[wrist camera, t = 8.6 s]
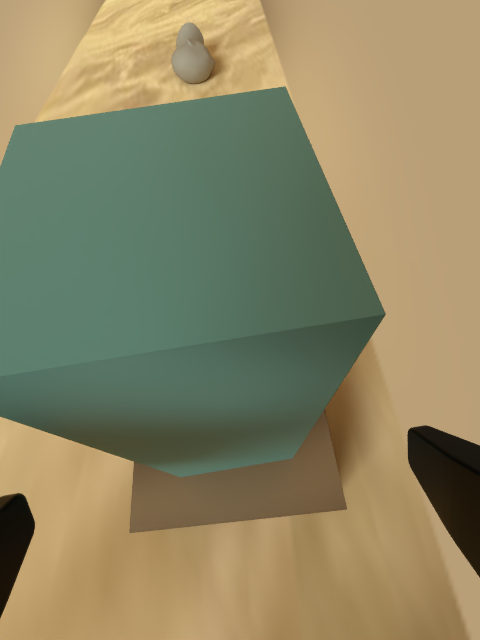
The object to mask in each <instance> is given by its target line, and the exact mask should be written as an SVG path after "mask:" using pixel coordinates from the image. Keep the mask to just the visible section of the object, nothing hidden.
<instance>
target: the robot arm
mask: <svg viewBox="0 0 480 640" xmlns="http://www.w3.org/2000/svg"><path fill="white" fill-rule="evenodd" d="M408 461H409V464H410V467H411V469H412V471H413V473H414V474H415V476H416V478H417V480H418V481H419V483H420V485H421V486H422V488H423V490H424V492H425V493H426V495H427V497H428V498H429V500H430V502H431V504H432V505H433V507H434V509H435V511H436V512H437V514H438V516H439V517H440V519H441V521H442V523H443V524H444V526H445V528H446V529H447V531H448V532H449V534H450V535H451V537H452V538H453V540H454V541H455V543H456V544H457V546H458V547H459V549H460V550H461V552H462V553H463V554H464V556H465V557H466V559H467V560H468V561H469V563H470V564H471V566H472V567H473V569H474V570H475V571H476V573H477V574H478V576H479V577H480V446H479V445H477V444H474V443H471V442H469V441H467V440H464V439H461V438H459V437H456V436H453V435H451V434H448V433H446V432H443V431H440V430H438V429H435V428H433V427H430V426H419V427H413V428H410V429H409V430H408ZM34 529H35V521H34V518H33V516H32V513H31V510H30V508H29V505H28V502H27V500H26V497H25V496H24V495H23V494H21V493H17V494H11V495H5V496H2V497H0V618H1V616H2V613H3V611H4V608H5V606H6V604H7V601H8V599H9V596H10V594H11V591H12V588H13V586H14V583H15V581H16V578H17V575H18V573H19V570H20V568H21V565H22V562H23V560H24V557H25V555H26V552H27V549H28V547H29V544H30V542H31V539H32V537H33V534H34Z"/></svg>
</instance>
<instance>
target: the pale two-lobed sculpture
mask: <svg viewBox="0 0 480 640" xmlns="http://www.w3.org/2000/svg"><path fill="white" fill-rule="evenodd" d="M176 45H177V49H176V50H175V51H174V53H173V55H172V60H171V61H172V67H173V70H174V72H175V73H176V75H177V76H178V77H179V78H180V79H181V80H183V81H184V82H187V83H192V84H194V83H200V82H203V81H205V80H206V79H208V77H209V76H210V73H211V70H212V69H213V68H214V66H215V61H214V60H213V58H212V57H211V55H210V53H209V51H208V49H207V48H206V47H205V46H204V39H203V36H202V34H201V32H200V30H199V29H198V27H197V26H196V25H194V24H193V23H186V24H184V25H183V26H182V27H181V29H180V31H179V33H178V36H177V41H176Z"/></svg>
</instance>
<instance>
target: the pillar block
mask: <svg viewBox="0 0 480 640" xmlns="http://www.w3.org/2000/svg"><path fill="white" fill-rule="evenodd" d="M384 316H385V312H384V309H383V307H382V305H381V302H380V300H379V298H378V296H377V293H376V291H375V289H374V287H373V285H372V282H371V280H370V278H369V275H368V273H367V271H366V269H365V266H364V264H363V262H362V259H361V257H360V255H359V253H358V250H357V248H356V246H355V243H354V241H353V239H352V237H351V234H350V232H349V230H348V228H347V225H346V223H345V221H344V219H343V216H342V214H341V212H340V209H339V207H338V205H337V203H336V201H335V198H334V196H333V194H332V191H331V189H330V187H329V184H328V182H327V180H326V178H325V175H324V173H323V171H322V169H321V166H320V164H319V162H318V160H317V157H316V155H315V153H314V150H313V148H312V146H311V144H310V141H309V139H308V137H307V135H306V133H305V130H304V128H303V126H302V123H301V121H300V119H299V116H298V114H297V112H296V110H295V107H294V105H293V103H292V101H291V98H290V96H289V94H288V91H287V89H286V87H279V88H272V89H265V90H258V91H251V92H244V93H237V94H230V95H223V96H216V97H210V98H203V99H196V100H189V101H182V102H175V103H168V104H161V105H154V106H147V107H140V108H134V109H127V110H120V111H113V112H106V113H99V114H92V115H85V116H78V117H71V118H64V119H58V120H51V121H44V122H37V123H30V124H23V125H16V126H15V128H14V131H13V133H12V136H11V139H10V142H9V145H8V147H7V150H6V153H5V155H4V158H3V161H2V164H1V166H0V417H3V418H6V419H9V420H12V421H15V422H18V423H21V424H24V425H27V426H30V427H33V428H36V429H39V430H42V431H45V432H48V433H51V434H54V435H57V436H60V437H63V438H66V439H69V440H72V441H75V442H78V443H81V444H84V445H86V446H89V447H92V448H95V449H98V450H101V451H104V452H107V453H110V454H113V455H116V456H119V457H122V458H125V459H128V460H131V461H134V462H137V463H140V464H143V465H146V466H149V467H152V468H155V469H158V470H161V471H164V472H167V473H170V474H173V475H175V476H178V477H186V476H192V475H198V474H204V473H210V472H215V471H221V470H227V469H233V468H239V467H245V466H251V465H257V464H263V463H269V462H274V461H280V460H286V459H292V458H293V457H294V456H295V454H296V452H297V451H298V449H299V448H300V446H301V445H302V443H303V442H304V440H305V439H306V437H307V435H308V434H309V432H310V431H311V429H312V428H313V426H314V425H315V423H316V421H317V420H318V418H319V417H320V415H321V414H322V412H323V411H324V409H325V408H326V406H327V404H328V403H329V401H330V400H331V398H332V397H333V395H334V394H335V392H336V390H337V389H338V387H339V386H340V384H341V383H342V381H343V380H344V378H345V377H346V375H347V373H348V372H349V370H350V369H351V367H352V366H353V364H354V363H355V361H356V359H357V358H358V356H359V355H360V353H361V352H362V350H363V349H364V347H365V346H366V344H367V342H368V341H369V339H370V338H371V336H372V335H373V333H374V332H375V330H376V328H377V327H378V325H379V324H380V322H381V321H382V319H383V318H384Z"/></svg>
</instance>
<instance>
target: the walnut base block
mask: <svg viewBox="0 0 480 640" xmlns="http://www.w3.org/2000/svg"><path fill="white" fill-rule="evenodd" d="M346 509H347V507H346V502H345V498H344V494H343V489H342V485H341V480H340V476H339V471H338V467H337V462H336V458H335V454H334V449H333V445H332V440H331V436H330V431H329V427H328V422H327V418H326V414H325V409H324V411H323V412H322V414H321V415H320V417H319V418H318V420H317V421H316V423H315V425H314V426H313V428H312V429H311V431H310V432H309V434H308V435H307V437H306V439H305V440H304V442H303V443H302V445H301V446H300V448H299V449H298V451H297V452H296V454H295V456H294V457H293V458H292V459H286V460H280V461H274V462H269V463H263V464H257V465H251V466H245V467H239V468H233V469H227V470H221V471H215V472H210V473H204V474H198V475H192V476H186V477H178V476H175V475H173V474H170V473H167V472H164V471H161V470H158V469H155V468H152V467H149V466H146V465H143V464H140V463H137V462H134V471H133V486H132V502H131V517H130V533H135V532H144V531H153V530H162V529H171V528H181V527H190V526H199V525H208V524H217V523H227V522H236V521H245V520H254V519H263V518H273V517H282V516H291V515H300V514H309V513H319V512H328V511H337V510H346Z"/></svg>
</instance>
